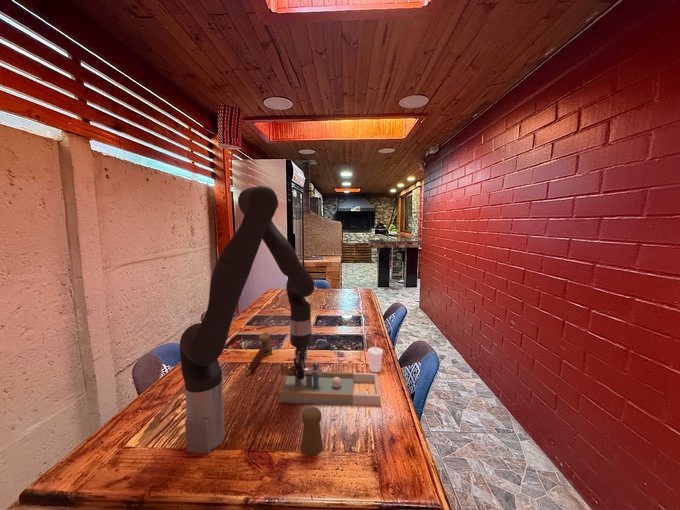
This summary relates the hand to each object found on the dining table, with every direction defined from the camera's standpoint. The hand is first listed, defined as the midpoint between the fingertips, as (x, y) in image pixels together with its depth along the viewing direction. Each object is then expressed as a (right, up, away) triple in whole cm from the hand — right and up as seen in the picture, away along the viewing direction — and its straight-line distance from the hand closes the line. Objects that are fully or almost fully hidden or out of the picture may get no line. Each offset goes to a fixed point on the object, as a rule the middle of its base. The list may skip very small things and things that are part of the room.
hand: (301, 376), depth 99 cm
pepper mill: (+6, -9, -25) cm, 27 cm away
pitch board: (+11, -6, 0) cm, 12 cm away
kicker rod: (0, -3, 0) cm, 3 cm away
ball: (+13, -2, -1) cm, 13 cm away
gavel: (-21, -5, +21) cm, 30 cm away
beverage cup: (+29, -5, +15) cm, 33 cm away
